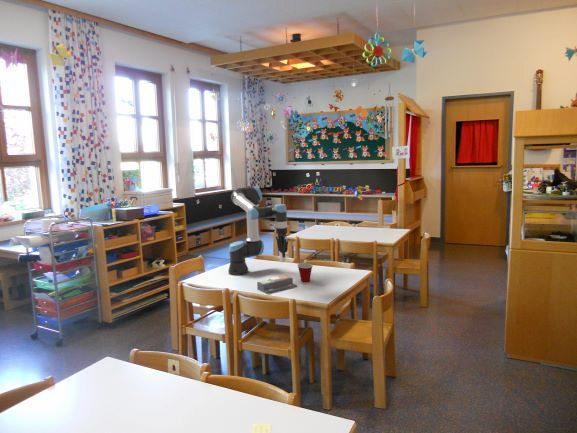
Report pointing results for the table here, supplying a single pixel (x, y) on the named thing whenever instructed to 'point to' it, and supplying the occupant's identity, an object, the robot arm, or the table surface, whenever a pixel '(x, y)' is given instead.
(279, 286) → the keypad
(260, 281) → the sage key
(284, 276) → the terracotta key
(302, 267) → the plastic cup
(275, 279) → the cream key
